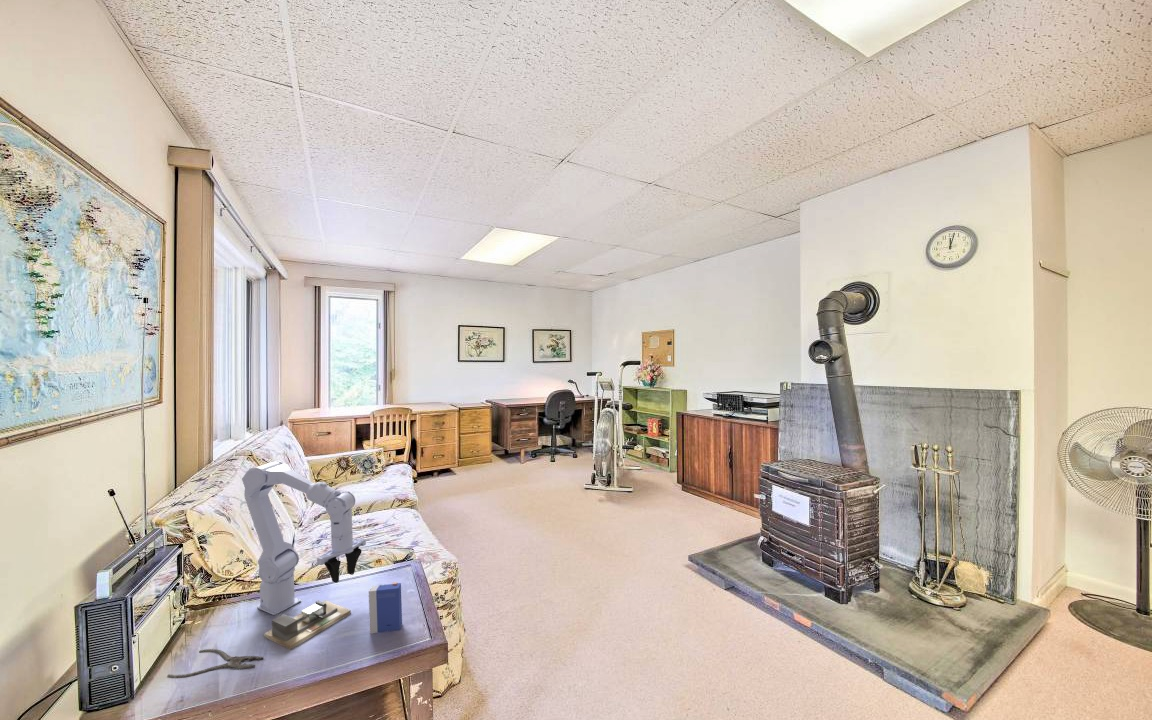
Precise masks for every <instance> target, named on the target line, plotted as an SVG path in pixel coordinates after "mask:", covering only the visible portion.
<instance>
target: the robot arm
mask: <svg viewBox="0 0 1152 720" xmlns="http://www.w3.org/2000/svg"><path fill="white" fill-rule="evenodd" d="M241 481H242V484H243V486H244V493H243V494H244V499H245V503H246V505H247V507H248V511H249V514H250V517H251V520H252V522H253V526H254V528H255V531H256V535H257V539H259V540H258V541H259V543H260V546H261V550H262V553H261V554H260V556H259V559H258V560H257V564H258V576H259V578H260V580H261V582H260V585H259V603H260V604H258V605H257V606H256V608H257V609H259V610H261V611H263V612H266V613H268V614H269V615H272V616H275V615H277V614H279V613H281V612H283V611H285V610H287V609H289V608H291V607H294V606H296V605H298V604H299V603H300V602H302V599H300V598H297V597H295V571H296V568H295V567H296V566H298V565H299V562H300V557H299V556H300V555H299V554H298V552H297V551H296V550H295V549H294V547H293V544H292V543H290V542H286V541H285V540H284V537H283V534H282V531H281V528H280V525H279V522H278V520H277V517H276V514H275V511H274V508H273V505H272V502H271V500H270V496H269V494H270V492H271V490H272V489H273V487H274V486H275V485H280V484H283V485H285V486H287V487H290V488H292V489H295V490H296V491H299V492H302V493H304V494H306V499H307V500H309V501H311V502H312V503H314V504H316V505H319V506H320V507H322V508H324V509H325V510H326V514H328V516H329V521H330V535H331V536H330V537H331V540H330V541H331V549H329V550H328V551H326V552H324V553H323V554H321V555H320V556H317V557H316V563H317V565H318V566H323V565H324V566H325V567H326V568H327V571H328V572H329V575H330V577H331V583H336V584H337V583H338V582H339V581H340V566H341V562H342V561H341V560H340V559H339V560H338V557H340V556H342V555H344V554H345V559H346V569H347V574H348V575H351V576H352V575H354V574H355V571H356V566H357V563H358V561H359V558H360V556H361V555H362V548H360V547H364V546H366V545H367V544H366V538H363V537H361V538H358V539H355V540H353V539H354V538H353V512H352V511H353V509H352V508H353V507H355V505H356V497H355V495H354V494H353V493H352V492H350V491H347V490H344V491H341V490H339V489H335V488H334V487H331V486H329V485H328V483H327V482H326V481H318V482H313V481H311V480H309V479H307V478H306V477H305V476H302V475H301V474H300V473H298V472H296V471H295V470H293V469H291V468H290V466H289V465H288V464H286V463H284V462H283V461H280V460H278V459H277V460H272V461H270V462H268V463H265V464H261V465H259V466H255V467H251V468H249V469H248V470H247V471H246V472H245V473H244V475H243V477H242V478H241Z"/></svg>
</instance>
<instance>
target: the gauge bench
mask: <svg viewBox="0 0 1152 720" xmlns="http://www.w3.org/2000/svg"><path fill="white" fill-rule="evenodd" d="M322 602H323V603H326V614H325V615H323V616H322V617H324V618H323V619H321V618H318V619H316V620H314V621H313V622H311V623H306V622H304V621H302V612H301V613H300V614H297V615H296V616H294V617H291V616H289V615H286V614H284V613H283V614H281V615H279V616H277V617H275V618H274V619H272V620H271V629H270V630H268V631H266V632H265V633H264V638H265V639H268V640H270V641H272V642H275V643H276V644H278V645H280V646H282V647H285V648H286V649H288V650H293V649H294V648H295V647H297V646H298V645H301V644H303V642H306V641H307V640H309V639H310V638H312V637H314V636H316V635H317V634H319V633H321V632H322V631H324V630H326V629H328V628H329V627H330V626H331V625H334V624H336V623H337V622H339V621H340V620H343V619H344V618H345V617H347V616H349V615H351V613H352V610H351V609H350V608H346V607H344V606H342V605H338V604H335V603H333V602H331V601H328V600H323V601H322Z"/></svg>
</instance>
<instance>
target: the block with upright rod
mask: <svg viewBox="0 0 1152 720" xmlns="http://www.w3.org/2000/svg"><path fill="white" fill-rule="evenodd" d="M323 602H324V601H320V600H317V601H315V603H313V604H311V605H310V606H308V607H306V608H304V609H302V610H301V613H302V621H304V622H306V623H311V622H313V621H314V620H316V619H318V618H321V619H323V618H324V617H322V616H323V615H325V614H326V603H323Z"/></svg>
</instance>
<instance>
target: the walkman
mask: <svg viewBox="0 0 1152 720" xmlns="http://www.w3.org/2000/svg"><path fill="white" fill-rule="evenodd" d="M402 605H403V603H402V583H401V582H399V583H398V582H392V583H391V584H380V585H373V586H371V588H369V590H368V608H369V609H368V612H369V613H368V615H369V634H378V633H385V632H393V631H400V630H401V627H402V626H403V613H402V612H403V611H402V610H403V608H402Z"/></svg>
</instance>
